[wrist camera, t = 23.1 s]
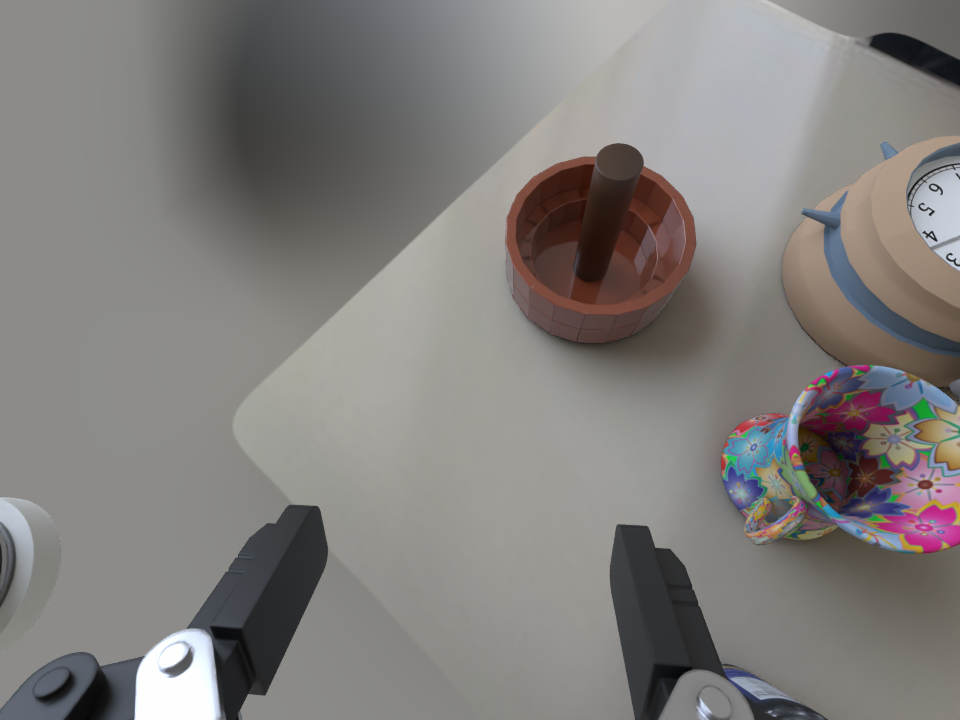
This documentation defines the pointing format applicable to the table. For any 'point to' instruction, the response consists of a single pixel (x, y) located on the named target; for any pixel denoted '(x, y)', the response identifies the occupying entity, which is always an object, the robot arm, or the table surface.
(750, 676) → the pill bottle
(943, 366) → the alarm clock
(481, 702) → the table surface
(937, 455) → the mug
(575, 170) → the bowl
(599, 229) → the stick
